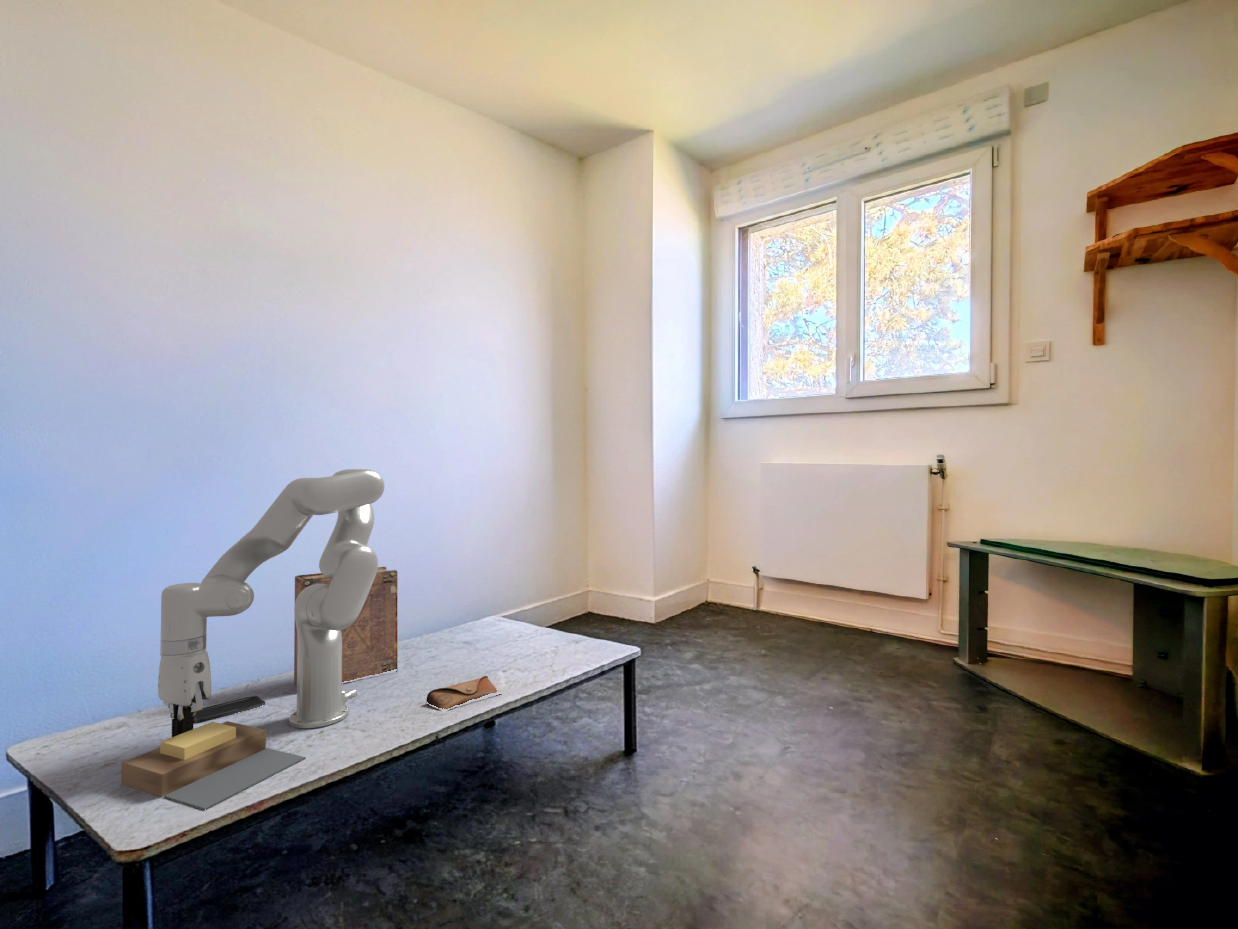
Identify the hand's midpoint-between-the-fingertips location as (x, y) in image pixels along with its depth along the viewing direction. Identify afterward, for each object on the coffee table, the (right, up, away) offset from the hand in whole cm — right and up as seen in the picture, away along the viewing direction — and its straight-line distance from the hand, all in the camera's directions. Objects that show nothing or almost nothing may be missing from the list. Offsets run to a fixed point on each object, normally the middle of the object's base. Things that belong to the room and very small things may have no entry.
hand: (182, 736), depth 119 cm
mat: (+16, -5, -6) cm, 18 cm away
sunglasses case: (+49, -6, +33) cm, 59 cm away
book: (+11, -6, +49) cm, 51 cm away
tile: (+5, -1, -2) cm, 5 cm away
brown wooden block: (+4, -5, -2) cm, 7 cm away
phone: (-8, -6, +26) cm, 28 cm away
